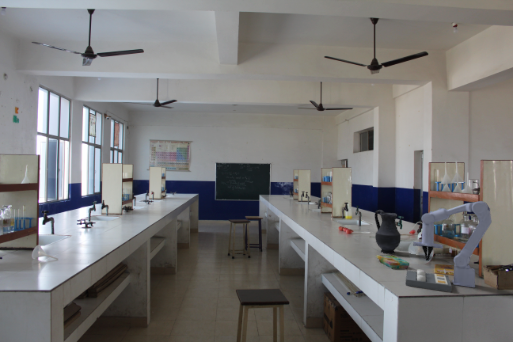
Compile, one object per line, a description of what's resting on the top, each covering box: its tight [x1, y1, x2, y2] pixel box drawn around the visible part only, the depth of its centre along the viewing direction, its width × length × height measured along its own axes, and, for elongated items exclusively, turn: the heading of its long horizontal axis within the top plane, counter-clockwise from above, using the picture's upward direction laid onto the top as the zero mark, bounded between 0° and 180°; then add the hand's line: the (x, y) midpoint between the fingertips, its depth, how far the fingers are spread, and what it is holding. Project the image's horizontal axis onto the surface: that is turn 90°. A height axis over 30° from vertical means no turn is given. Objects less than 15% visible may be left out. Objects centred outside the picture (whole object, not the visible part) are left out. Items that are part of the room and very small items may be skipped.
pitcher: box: [374, 209, 401, 255], centre depth 259 cm, size 17×21×30 cm
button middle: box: [416, 269, 427, 276], centre depth 183 cm, size 4×4×4 cm
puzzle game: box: [375, 254, 410, 269], centre depth 220 cm, size 12×5×20 cm
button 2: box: [417, 275, 426, 282], centre depth 177 cm, size 4×4×4 cm
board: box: [405, 270, 452, 293], centre depth 182 cm, size 20×20×4 cm
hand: (427, 260), depth 193 cm, fingers closed
